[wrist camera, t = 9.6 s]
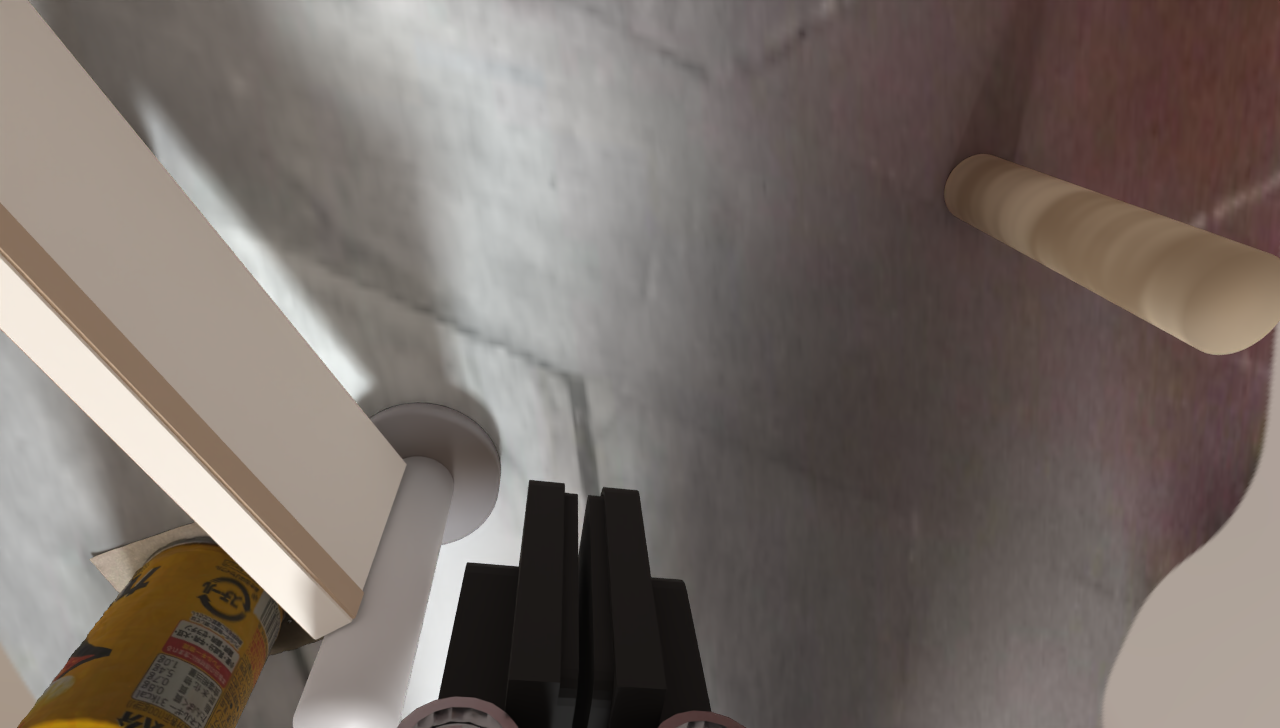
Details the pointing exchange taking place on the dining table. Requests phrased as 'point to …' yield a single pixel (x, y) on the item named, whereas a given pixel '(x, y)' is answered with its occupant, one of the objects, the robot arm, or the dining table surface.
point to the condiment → (170, 641)
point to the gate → (208, 381)
